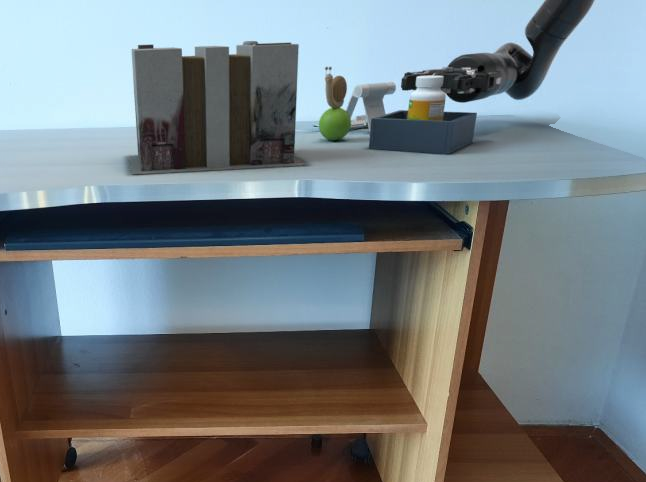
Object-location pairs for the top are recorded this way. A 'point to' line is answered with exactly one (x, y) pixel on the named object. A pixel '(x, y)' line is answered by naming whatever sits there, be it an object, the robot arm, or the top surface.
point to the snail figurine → (335, 109)
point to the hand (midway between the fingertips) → (429, 84)
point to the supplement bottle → (427, 99)
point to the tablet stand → (369, 102)
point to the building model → (215, 107)
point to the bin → (422, 132)
